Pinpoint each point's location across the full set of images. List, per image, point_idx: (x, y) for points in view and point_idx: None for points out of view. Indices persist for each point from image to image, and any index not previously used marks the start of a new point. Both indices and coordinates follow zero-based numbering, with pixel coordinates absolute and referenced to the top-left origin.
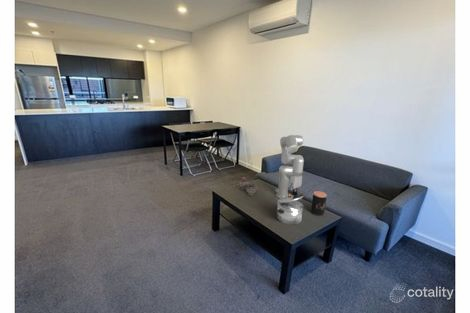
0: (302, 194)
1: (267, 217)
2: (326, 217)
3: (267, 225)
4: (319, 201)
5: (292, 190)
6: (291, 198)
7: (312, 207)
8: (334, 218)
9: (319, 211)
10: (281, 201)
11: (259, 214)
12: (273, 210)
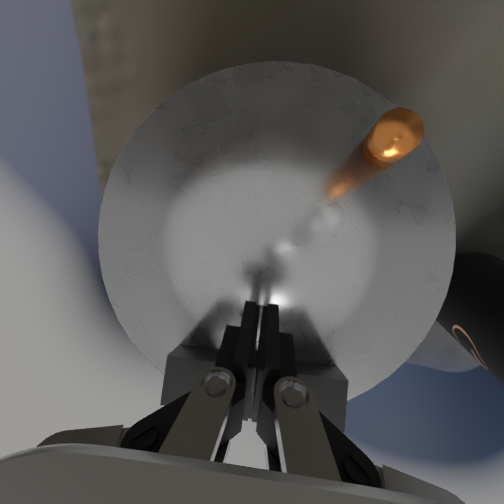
0: (332, 422)
1: (161, 98)
2: (432, 336)
3: (103, 165)
4: (502, 380)
5: (201, 376)
6: (217, 288)
7: (458, 286)
8: (448, 363)
9: (441, 324)
10: (101, 213)
11: (138, 18)
12: (273, 53)
